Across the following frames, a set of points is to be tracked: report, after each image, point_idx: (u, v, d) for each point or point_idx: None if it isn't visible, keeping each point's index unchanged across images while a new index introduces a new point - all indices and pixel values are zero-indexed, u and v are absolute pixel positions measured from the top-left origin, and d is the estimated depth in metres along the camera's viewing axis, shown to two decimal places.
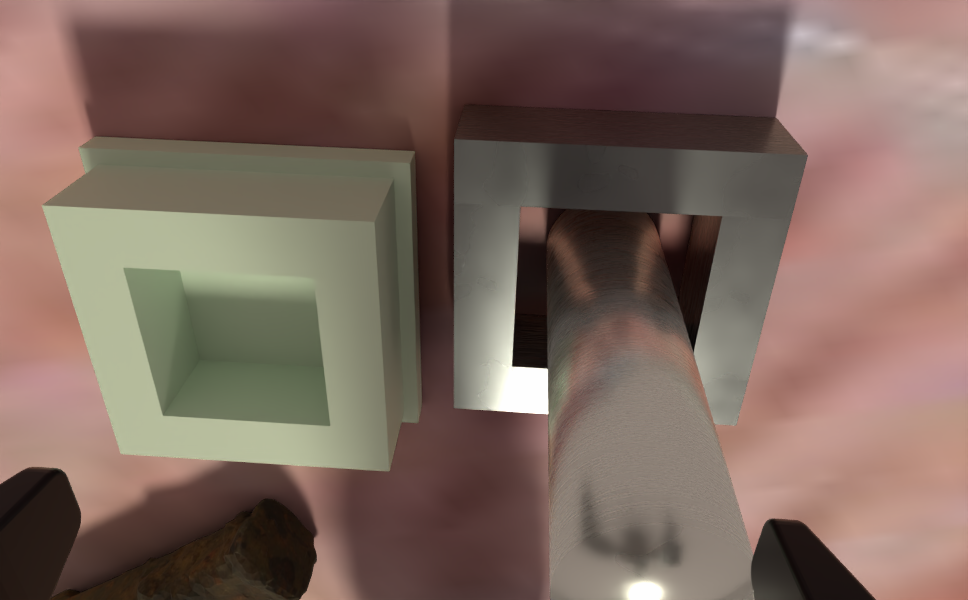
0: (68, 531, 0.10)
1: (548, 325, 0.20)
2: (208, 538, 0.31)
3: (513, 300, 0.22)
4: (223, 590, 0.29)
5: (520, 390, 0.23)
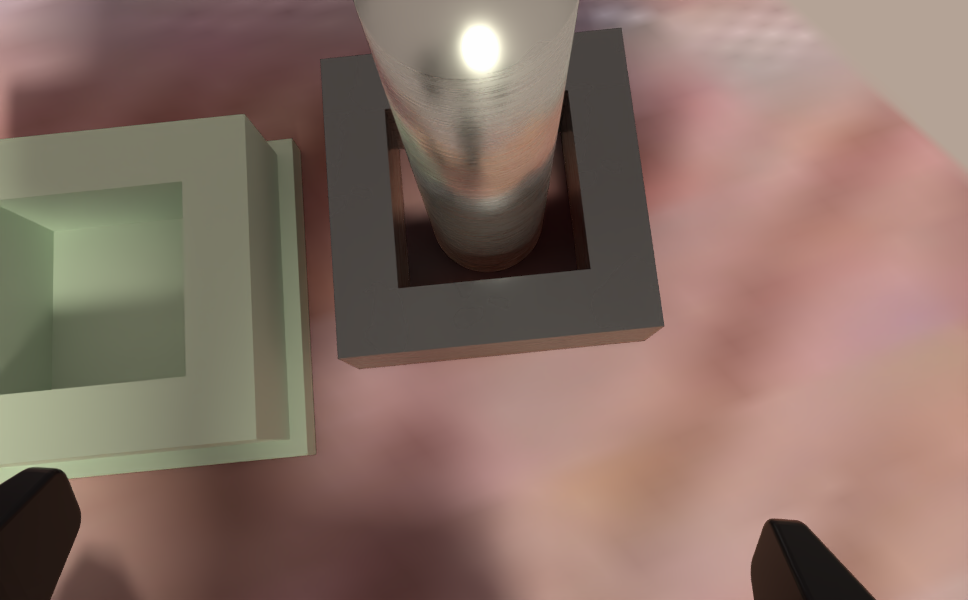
0: (68, 531, 0.10)
1: None
2: None
3: (390, 206, 0.21)
4: None
5: (412, 319, 0.21)
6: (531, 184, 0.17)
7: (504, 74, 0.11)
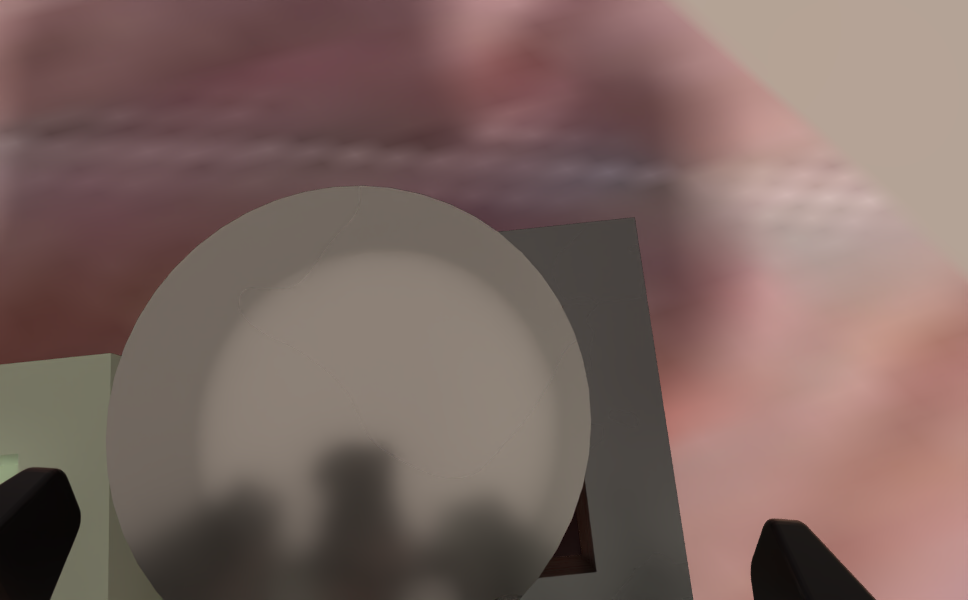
0: (68, 531, 0.10)
1: None
2: None
3: None
4: None
5: None
6: None
7: None
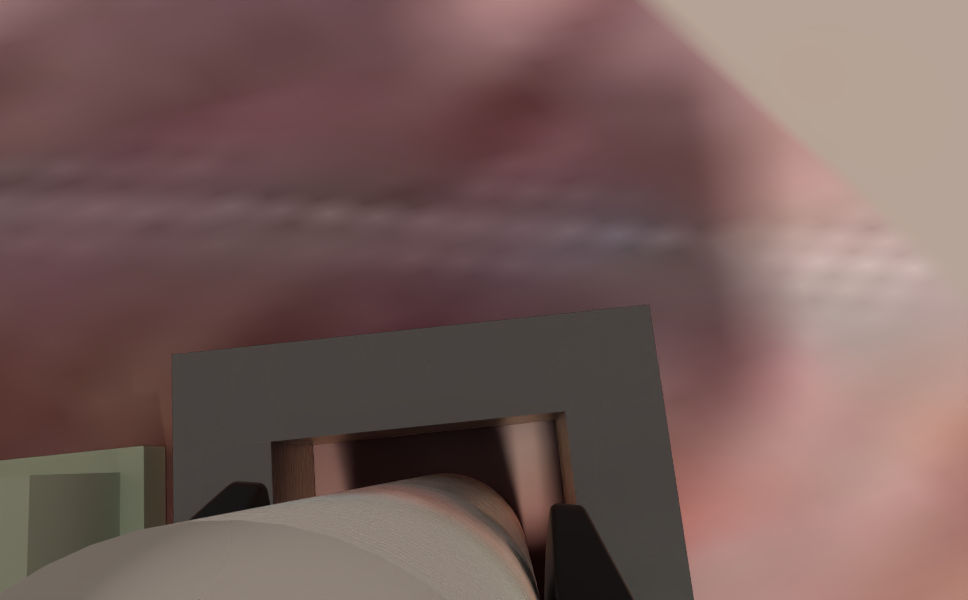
0: None
1: None
2: None
3: None
4: None
5: None
6: None
7: None
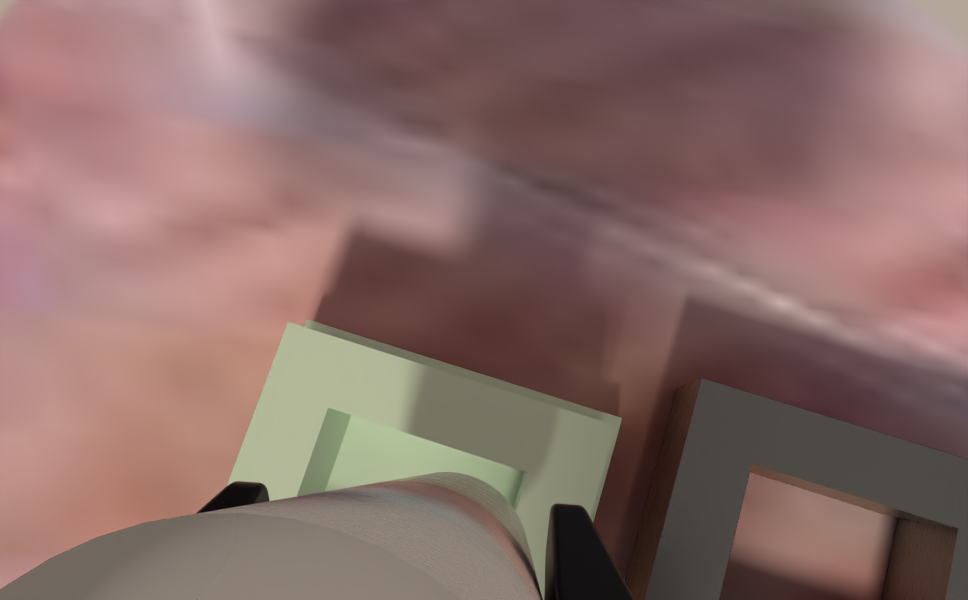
0: None
1: None
2: None
3: (722, 576, 0.19)
4: None
5: None
6: None
7: None
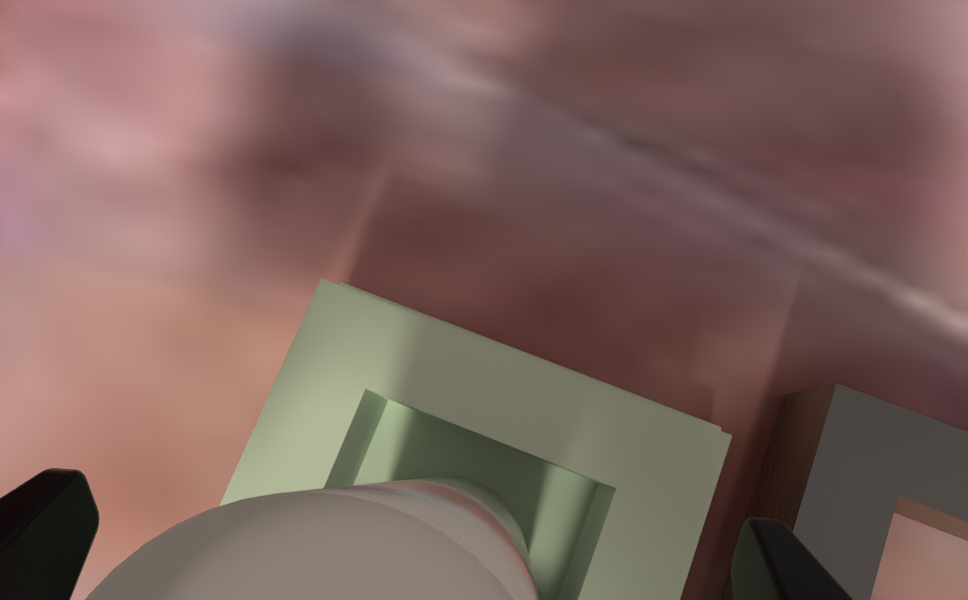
0: (87, 532, 0.10)
1: None
2: None
3: None
4: None
5: None
6: None
7: None
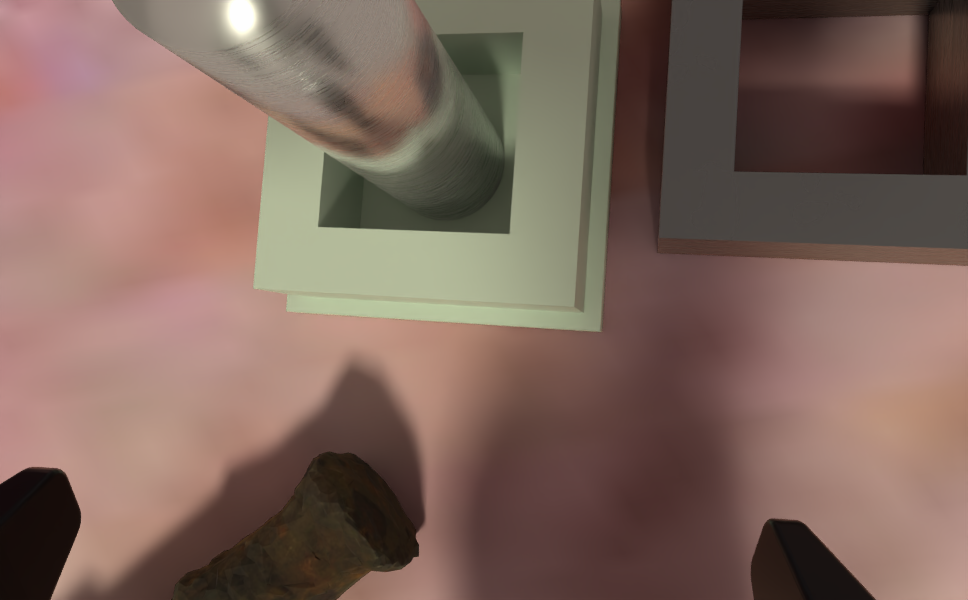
0: (68, 531, 0.10)
1: None
2: None
3: (736, 80, 0.19)
4: (288, 548, 0.21)
5: (745, 206, 0.19)
6: (434, 118, 0.16)
7: (285, 22, 0.10)
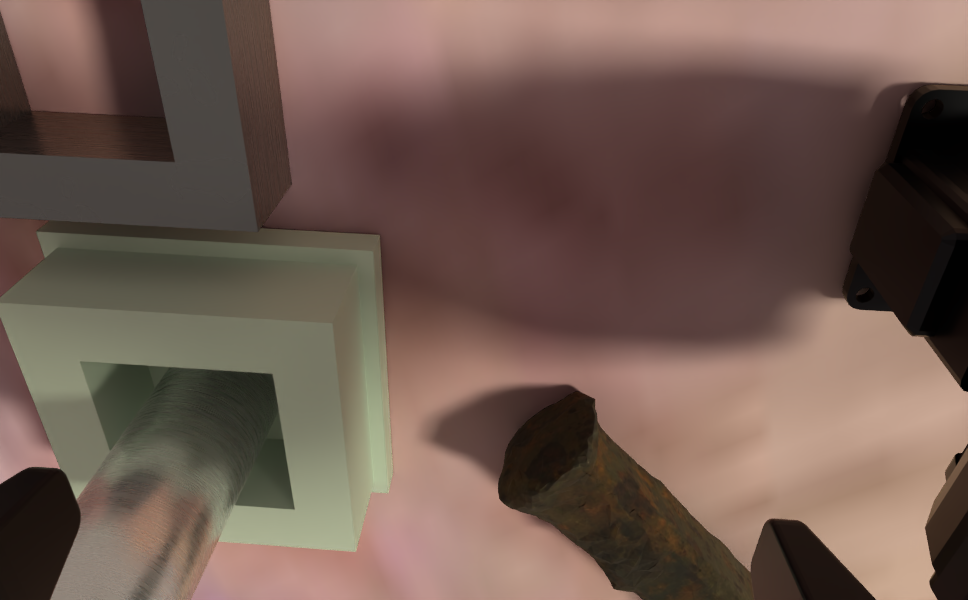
0: (68, 531, 0.10)
1: None
2: None
3: (79, 159, 0.18)
4: (577, 523, 0.24)
5: (209, 151, 0.18)
6: (150, 510, 0.17)
7: None
